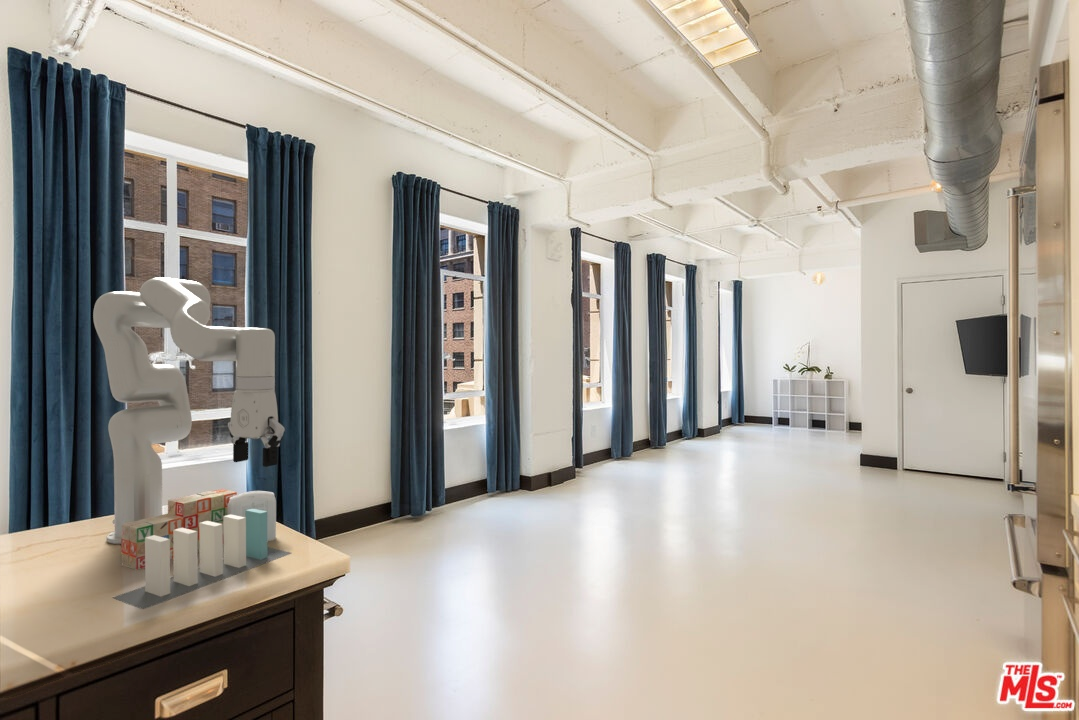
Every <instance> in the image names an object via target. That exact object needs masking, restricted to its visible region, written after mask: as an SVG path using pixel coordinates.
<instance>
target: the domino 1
mask: <svg viewBox="0 0 1079 720" xmlns="http://www.w3.org/2000/svg"><path fill="white" fill-rule="evenodd" d="M144 568H145V569H144V572H145V575H144V576H145V578H144V579H145V580H144V581H145V582H144V583H145V585H144V586H145V591H146V592H149V593H152V594H155V595H158V596H164V595H167V594H169V593H170V577H171V559H170V539H167V538H163V537H160V536H156V535H153V536H149V537H146V538H145V567H144Z"/></svg>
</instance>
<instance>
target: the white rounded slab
mask: <svg viewBox="0 0 1079 720" xmlns="http://www.w3.org/2000/svg"><path fill="white" fill-rule="evenodd" d="M248 509H257V510H263V511H267V542H272V541H275V540H276V538H277V537H276V536H277V500H276V497H275V493H274V492H272V491H265V490H251V491H245V492H242V493H237V495H235V496H233V497H230V500H229V503H228V506H227V515H230V514H231V515H236V516H241V517H245V510H248Z"/></svg>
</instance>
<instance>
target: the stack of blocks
mask: <svg viewBox="0 0 1079 720" xmlns="http://www.w3.org/2000/svg"><path fill="white" fill-rule="evenodd" d="M235 495H238V492H237V491H234V490H228V489H223V488H221V489H216V490H212V491H210V490H208V491H203V492H198V493H194V494H191V495H189V494H188V495H186V496H185V495H184V496H181V497H176V498H172V499H168V500H167V513H164V514H162V515H159V516H155V517H150V518H146V519H141V520H138V521H133V522H128V523H124V524H122V539H121V544H120V545H121V546H120V547H121V549H120V550H121V551H120V552H121V567H128V568H130V569H133V570H139V569H144V568H145V538H146V537H149V536H153V535H156V536H160V537H163V538H167V539H170V560H174V552H173V530H175V529H179V528H185V529H190V530H194V531H197V552H200V542H199V523H201V522H204V521H211V522H215V523H220V524H223V516H227V506H228V503H229V500H230V497H233V496H235ZM223 545H224V536H223Z"/></svg>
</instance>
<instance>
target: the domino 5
mask: <svg viewBox="0 0 1079 720" xmlns="http://www.w3.org/2000/svg"><path fill="white" fill-rule="evenodd" d="M245 517H246V556H248V557H252V558H256V559H260V560H262V559H264V558H267V547H268V541H267V511H263V510H257V509H248V510H245Z"/></svg>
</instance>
